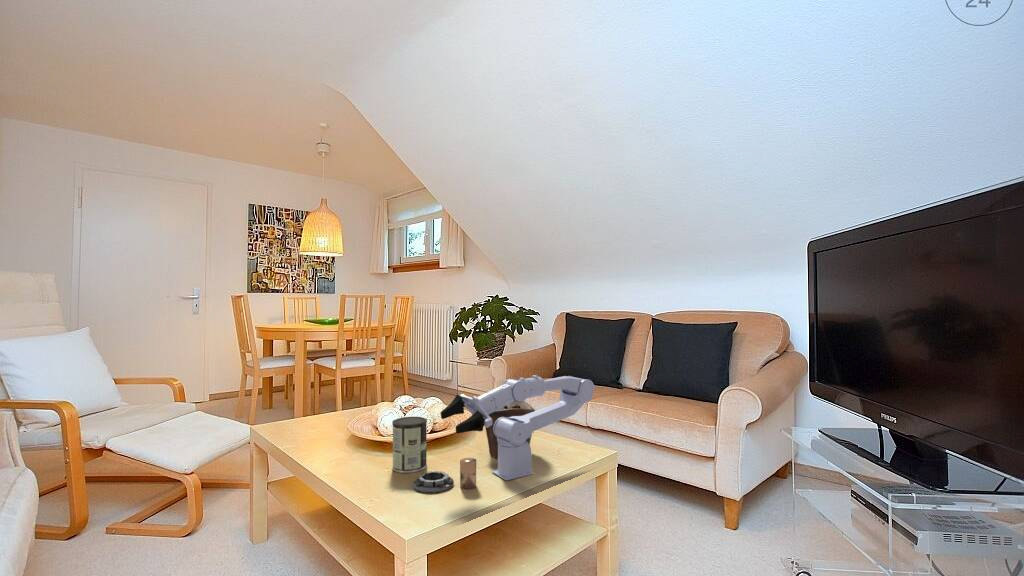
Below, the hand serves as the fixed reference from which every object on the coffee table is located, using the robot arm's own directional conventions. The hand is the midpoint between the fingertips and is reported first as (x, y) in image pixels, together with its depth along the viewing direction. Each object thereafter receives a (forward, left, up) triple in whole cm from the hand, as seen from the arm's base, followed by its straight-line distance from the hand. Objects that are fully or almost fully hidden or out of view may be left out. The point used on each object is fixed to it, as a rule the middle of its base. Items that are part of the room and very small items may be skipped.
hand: (448, 422), depth 127 cm
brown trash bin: (-30, -15, -18) cm, 38 cm away
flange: (+2, -5, -18) cm, 19 cm away
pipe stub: (-6, +1, -18) cm, 19 cm away
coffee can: (+2, -22, -18) cm, 29 cm away
